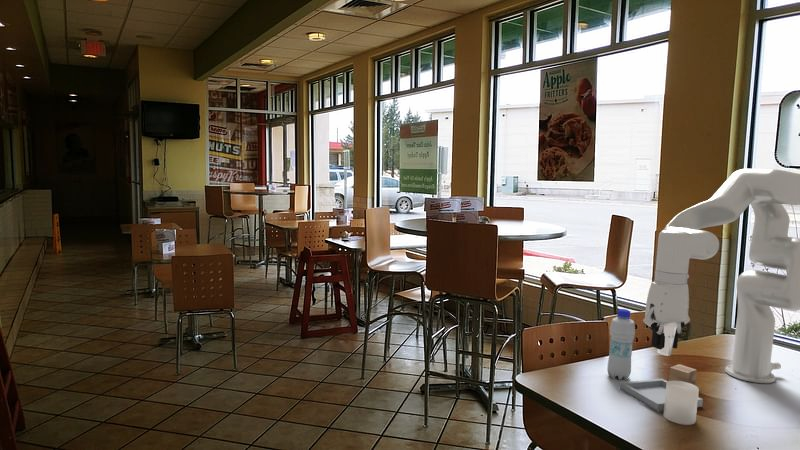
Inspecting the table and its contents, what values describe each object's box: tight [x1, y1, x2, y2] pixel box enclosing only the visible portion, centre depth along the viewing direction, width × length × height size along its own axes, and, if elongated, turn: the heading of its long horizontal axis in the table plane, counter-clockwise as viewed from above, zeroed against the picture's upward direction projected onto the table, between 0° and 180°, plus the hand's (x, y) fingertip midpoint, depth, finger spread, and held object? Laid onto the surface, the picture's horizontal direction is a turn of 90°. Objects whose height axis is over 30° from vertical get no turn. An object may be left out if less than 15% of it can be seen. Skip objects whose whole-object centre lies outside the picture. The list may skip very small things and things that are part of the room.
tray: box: [619, 378, 704, 413], centre depth 147 cm, size 14×14×2 cm
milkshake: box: [656, 322, 677, 357], centre depth 145 cm, size 4×5×10 cm
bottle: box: [606, 308, 636, 381], centre depth 160 cm, size 7×7×20 cm
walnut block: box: [668, 363, 698, 386], centre depth 156 cm, size 5×5×5 cm
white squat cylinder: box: [663, 380, 700, 426], centre depth 135 cm, size 7×7×8 cm
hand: (664, 346), depth 145 cm, fingers closed on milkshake, 4 cm apart
